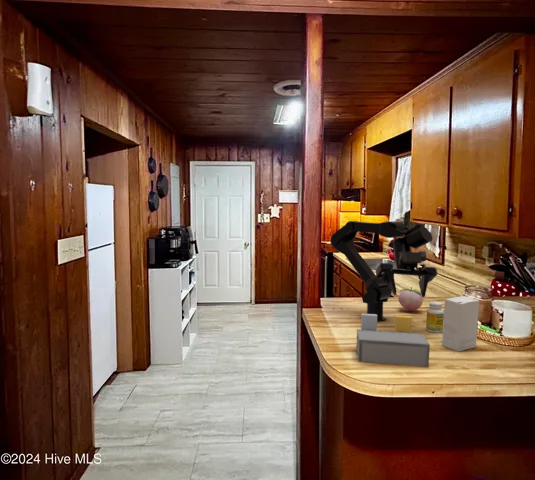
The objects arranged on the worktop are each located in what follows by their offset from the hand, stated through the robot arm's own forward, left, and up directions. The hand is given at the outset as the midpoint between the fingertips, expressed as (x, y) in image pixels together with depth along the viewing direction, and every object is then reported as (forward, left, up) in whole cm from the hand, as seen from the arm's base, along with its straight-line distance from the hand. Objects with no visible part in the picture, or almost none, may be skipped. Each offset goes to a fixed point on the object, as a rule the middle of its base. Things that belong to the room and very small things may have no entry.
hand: (409, 295), depth 123 cm
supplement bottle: (-4, +13, -14) cm, 19 cm away
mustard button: (+11, -7, -13) cm, 18 cm away
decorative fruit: (-27, +18, -14) cm, 35 cm away
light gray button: (+7, -17, -13) cm, 22 cm away
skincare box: (+11, +11, -14) cm, 20 cm away
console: (+15, -14, -14) cm, 25 cm away
